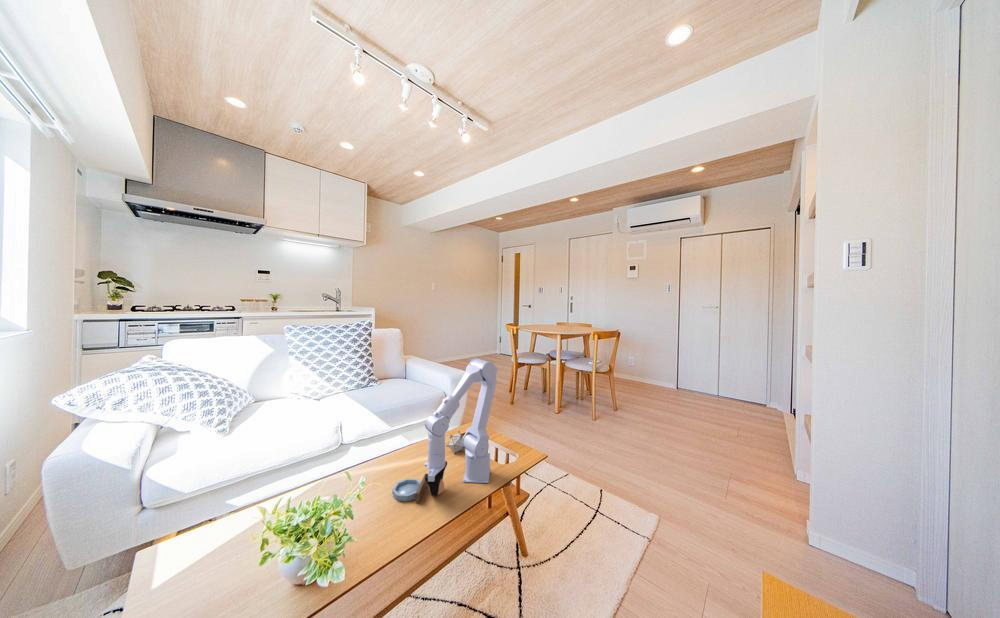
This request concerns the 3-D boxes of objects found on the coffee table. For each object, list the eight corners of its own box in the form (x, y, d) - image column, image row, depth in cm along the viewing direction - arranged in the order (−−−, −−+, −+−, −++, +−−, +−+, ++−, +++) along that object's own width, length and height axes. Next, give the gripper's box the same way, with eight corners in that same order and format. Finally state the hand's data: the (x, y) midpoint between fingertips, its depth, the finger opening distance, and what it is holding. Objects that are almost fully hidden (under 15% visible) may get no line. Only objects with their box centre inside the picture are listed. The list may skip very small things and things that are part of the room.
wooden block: (427, 483, 110) (427, 473, 110) (418, 503, 99) (418, 493, 99) (425, 483, 110) (425, 473, 110) (415, 503, 99) (415, 493, 99)
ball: (445, 488, 107) (445, 474, 107) (442, 498, 102) (442, 483, 102) (430, 488, 107) (431, 474, 107) (426, 498, 102) (426, 483, 102)
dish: (425, 484, 109) (425, 479, 109) (416, 502, 100) (416, 496, 100) (399, 483, 110) (399, 478, 110) (388, 501, 100) (388, 495, 100)
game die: (453, 461, 132) (439, 445, 129) (458, 445, 139) (445, 430, 137) (469, 455, 129) (455, 439, 126) (474, 439, 136) (460, 423, 134)
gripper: (430, 440, 111) (430, 476, 112) (418, 461, 97) (418, 503, 97) (449, 440, 111) (449, 477, 112) (440, 462, 97) (440, 504, 97)
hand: (436, 489), depth 105 cm, fingers closed on ball, 5 cm apart
